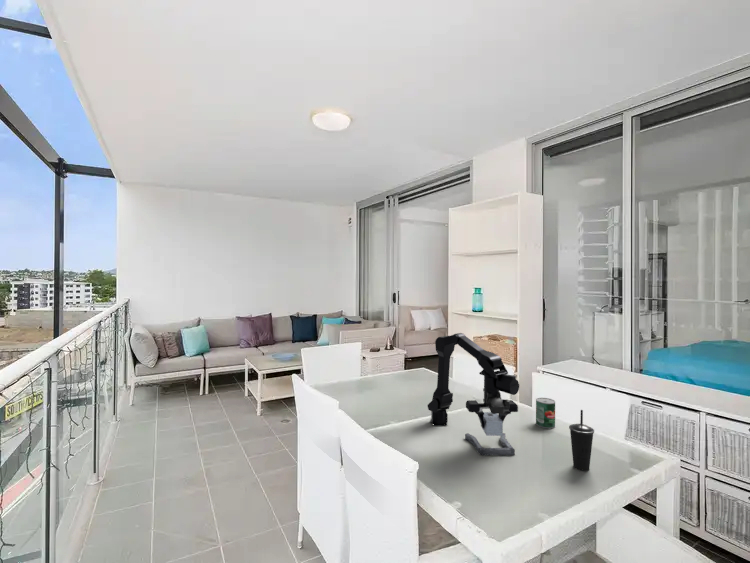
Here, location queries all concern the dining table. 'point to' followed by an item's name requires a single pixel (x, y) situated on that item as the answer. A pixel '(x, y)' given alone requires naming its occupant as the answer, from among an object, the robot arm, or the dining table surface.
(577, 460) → the drinking cup
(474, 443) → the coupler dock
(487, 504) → the dining table surface
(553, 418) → the canned tomato
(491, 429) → the block
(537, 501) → the dining table surface
